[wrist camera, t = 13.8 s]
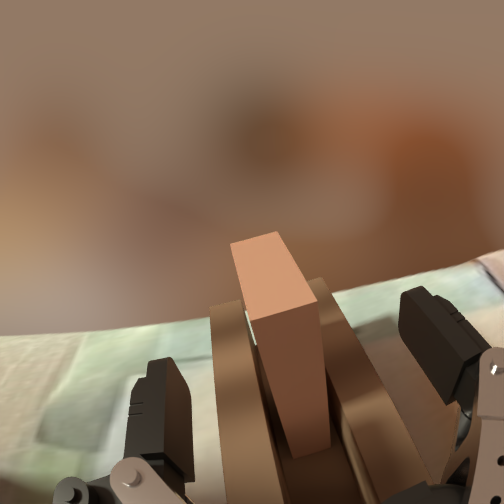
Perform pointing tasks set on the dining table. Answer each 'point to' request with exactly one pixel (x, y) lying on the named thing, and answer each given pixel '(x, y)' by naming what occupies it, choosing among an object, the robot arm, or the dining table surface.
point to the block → (286, 339)
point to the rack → (340, 420)
